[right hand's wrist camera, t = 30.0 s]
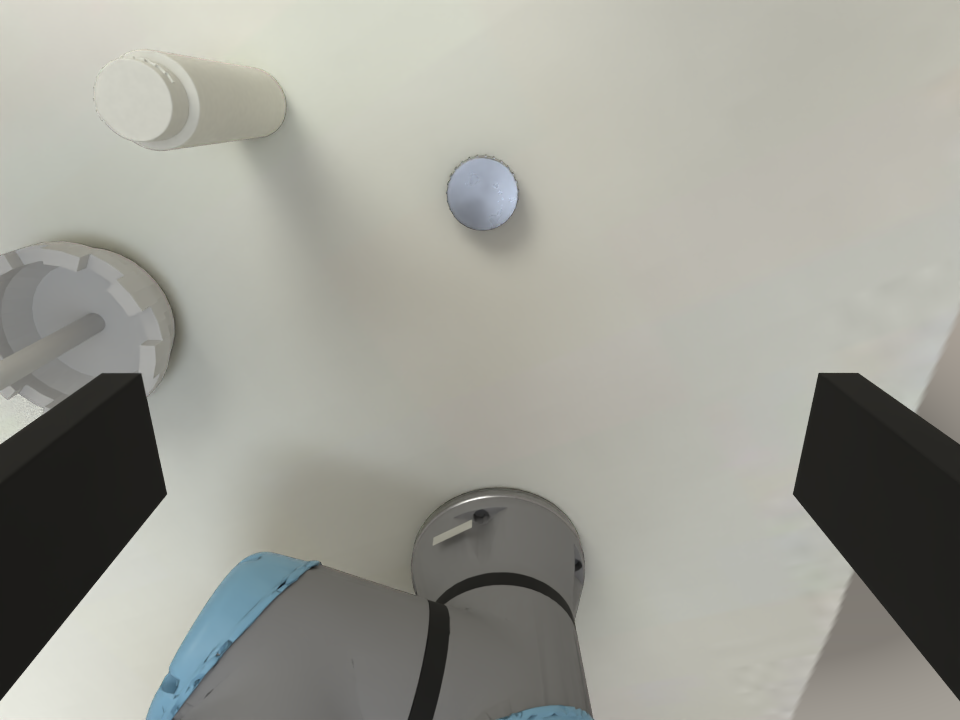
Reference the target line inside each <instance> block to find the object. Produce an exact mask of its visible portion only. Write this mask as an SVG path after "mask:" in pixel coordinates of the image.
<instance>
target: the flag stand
mask: <svg viewBox="0 0 960 720" xmlns="http://www.w3.org/2000/svg"><path fill="white" fill-rule="evenodd" d="M174 336H175V326H174V318H173V314H172V310H171V307H170V304H169V302H168V300H167V298H166V296H165V294H164V292H163V291H162V289H161V288H160V286H159V285H158V284H157V282H156V281H155V280H154V279H153V278H152V277H151V276H150V275H149V274H148V273H147V272H146V271H145V270H144V269H143V268H141V267H140V266H139V265H137V264H136V263H135V262H133V261H131V260H129V259H127V258H126V257H124V256H122V255H120V254H117V253H114V252H111V251H108V250H105V249H99V248H92V247H88V246H85V245H82V244H77V243H70V242H63V241H58V242H42V243H39V244H35V245H31V246H28V247H24V248H21V249H18V250H15V251H11V252H8V253H5V254H2V255H0V394H1V395H2V396H3V397H5V398H6V399H7V400H8V399H10V398H12V397H13V396H15V395H16V394H20V395H21V396H23V397H25V398H26V399H28V400H29V401H31V402H32V403H34V404H36V405H38V406H40V407H42V408H44V410H43V414H44V413H46V412H47V411H49V410H50V409H52V408H53V407H54V406H56V405H57V404H59V403H60V402H61V401H63V400H64V399H66V398H67V397H69V396H70V395H71V394H73V393H74V392H76V391H77V390H78V389H80V388H81V387H83V386H84V385H86V384H87V383H88V382H90V381H91V380H93V379H94V378H96V377H97V376H98V375H100V374H101V373H141V374H142V378H143V383H144V388H145V393H146V397H147V396H149V395H150V394H151V393H152V392H153V391H154V390H155V388H156V387H157V386H158V384H159V383H160V382H161V381H162V379H163V376H164V374H165V372H166V370H167V367H168V363H169V358H170V352H171V349H172V347H173V341H174Z"/></svg>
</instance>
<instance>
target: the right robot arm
mask: <svg viewBox="0 0 960 720" xmlns="http://www.w3.org/2000/svg"><path fill="white" fill-rule="evenodd" d="M166 495H167V492H166V487H165V482H164V477H163V473H162V468H161V463H160V459H159V454H158V449H157V444H156V440H155V435H154V430H153V426H152V421H151V416H150V411H149V407H148V402H147V397H146V393H145V388H144V383H143V378H142V374H141V373H101V374H100V375H98V376H97V377H96V378H94V379H93V380H91V381H90V382H88V383H87V384H86V385H84V386H83V387H81V388H80V389H78V390H77V391H76V392H74V393H73V394H71V395H70V396H69V397H67V398H66V399H64V400H63V401H61V402H60V403H59V404H57V405H56V406H54V407H53V408H52V409H50V410H49V411H47V412H46V413H44V414H43V415H42V416H40V417H39V418H37V419H36V420H34V421H33V422H32V423H30V424H29V425H27V426H26V427H25V428H23V429H22V430H20V431H19V432H17V433H16V434H15V435H13V436H12V437H10V438H9V439H8V440H6V441H5V442H3V443H2V444H0V701H1V699H2V698H3V697H4V696H5V694H6V693H7V692H8V691H9V689H10V688H11V687H12V686H13V684H14V683H15V682H16V681H17V680H18V678H19V677H20V676H21V675H22V673H23V672H24V671H25V670H26V668H27V667H28V666H29V665H30V663H31V662H32V661H33V660H34V658H35V657H36V656H37V655H38V654H39V652H40V651H41V650H42V649H43V647H44V646H45V645H46V644H47V642H48V641H49V640H50V639H51V637H52V636H53V635H54V634H55V632H56V631H57V630H58V629H59V627H60V626H61V625H62V624H63V623H64V621H65V620H66V619H67V618H68V616H69V615H70V614H71V613H72V611H73V610H74V609H75V608H76V606H77V605H78V604H79V603H80V601H81V600H82V599H83V598H84V597H85V595H86V594H87V593H88V592H89V590H90V589H91V588H92V587H93V585H94V584H95V583H96V582H97V580H98V579H99V578H100V577H101V575H102V574H103V573H104V572H105V571H106V569H107V568H108V567H109V566H110V564H111V563H112V562H113V561H114V559H115V558H116V557H117V556H118V554H119V553H120V552H121V551H122V549H123V548H124V547H125V546H126V545H127V543H128V542H129V541H130V540H131V538H132V537H133V536H134V535H135V533H136V532H137V531H138V530H139V528H140V527H141V526H142V525H143V523H144V522H145V521H146V520H147V518H148V517H149V516H150V515H151V514H152V512H153V511H154V510H155V509H156V507H157V506H158V505H159V504H160V502H161V501H162V500H163V499H164V497H165V496H166ZM793 495H794V496H795V497H796V499H797V500H798V501H799V502H800V504H801V505H802V506H803V507H804V509H805V510H806V511H807V512H808V514H809V515H810V516H811V517H812V518H813V520H814V521H815V522H816V523H817V525H818V526H819V527H820V528H821V530H822V531H823V532H824V533H825V535H826V536H827V537H828V538H829V540H830V541H831V542H832V543H833V545H834V546H835V547H836V548H837V549H838V551H839V552H840V553H841V554H842V556H843V557H844V558H845V559H846V561H847V562H848V563H849V564H850V566H851V567H852V568H853V569H854V571H855V572H856V573H857V574H858V575H859V577H860V578H861V579H862V580H863V582H864V583H865V584H866V585H867V587H868V588H869V589H870V590H871V591H872V593H873V594H874V595H875V596H876V598H877V599H878V600H879V601H880V603H881V604H882V605H883V606H884V608H885V609H886V610H887V611H888V613H889V614H890V615H891V616H892V618H893V619H894V620H895V621H896V623H897V624H898V625H899V626H900V627H901V629H902V630H903V631H904V632H905V634H906V635H907V636H908V637H909V639H910V640H911V641H912V642H913V643H914V645H915V646H916V647H917V649H918V650H919V651H920V652H921V654H922V655H923V656H924V657H925V658H926V660H927V661H928V662H929V663H930V665H931V666H932V667H933V668H934V669H935V671H936V672H937V673H938V675H939V676H940V677H941V678H942V680H943V681H944V682H945V683H946V684H947V686H948V687H949V688H950V689H951V691H952V692H953V693H954V694H955V696H956V697H957V698H958V699H959V701H960V444H958V443H957V442H955V441H954V440H952V439H951V438H950V437H948V436H947V435H945V434H944V433H943V432H941V431H940V430H938V429H937V428H935V427H934V426H933V425H931V424H930V423H928V422H927V421H925V420H924V419H923V418H921V417H920V416H918V415H917V414H916V413H914V412H913V411H911V410H910V409H908V408H907V407H906V406H904V405H903V404H901V403H900V402H899V401H897V400H896V399H894V398H893V397H891V396H890V395H889V394H887V393H886V392H884V391H883V390H882V389H880V388H879V387H877V386H876V385H874V384H873V383H872V382H870V381H869V380H867V379H866V378H864V377H863V376H862V375H860V374H859V373H819V374H818V378H817V383H816V388H815V393H814V397H813V402H812V407H811V411H810V416H809V421H808V426H807V430H806V435H805V440H804V444H803V449H802V454H801V459H800V463H799V468H798V473H797V477H796V482H795V487H794V492H793ZM411 572H412V583H413V587H414V591H415V594H416V595H413V594H409V593H406V592H403V591H400V590H397V589H393V588H390V587H387V586H384V585H381V584H378V583H375V582H372V581H369V580H366V579H363V578H360V577H357V576H354V575H351V574H348V573H345V572H342V571H338V570H335V569H332V568H329V567H326V566H323V565H322V564H321V562H319V561H309V562H307V561H303V560H299V559H295V558H291V557H288V556H284V555H280V554H276V553H272V552H259V553H256V554H253V555H251V556H249V557H247V558H245V559H244V560H242V561H241V562H240V563H239V564H238V565H236V566H235V567H234V568H233V569H232V570H231V572H230V573H229V574H228V575H227V576H226V577H225V579H224V580H223V581H222V582H221V584H220V585H219V586H218V588H217V589H216V590H215V592H214V593H213V595H212V596H211V598H210V599H209V600H208V602H207V603H206V605H205V606H204V608H203V610H202V611H201V613H200V614H199V616H198V617H197V619H196V621H195V622H194V624H193V625H192V627H191V629H190V630H189V632H188V634H187V635H186V637H185V639H184V641H183V642H182V644H181V646H180V648H179V649H178V651H177V653H176V655H175V657H174V659H173V661H172V663H171V664H170V666H169V673H168V674H167V675H166V676H165V678H164V680H163V682H162V684H161V686H160V688H159V689H158V691H157V693H156V694H155V696H154V699H153V701H152V703H151V706H150V708H149V711H148V714H147V717H146V720H594V719H593V715H592V710H591V705H590V700H589V694H588V689H587V684H586V679H585V674H584V668H583V663H582V658H581V653H580V648H579V642H578V637H577V632H576V627H575V622H574V621H575V617H576V613H577V609H578V605H579V601H580V597H581V592H582V588H583V584H584V576H585V561H584V554H583V550H582V545H581V542H580V538H579V536H578V533H577V531H576V529H575V527H574V525H573V524H572V522H571V521H570V520H569V518H568V517H567V516H566V515H565V514H564V513H563V512H562V511H561V510H560V509H559V508H557V507H556V506H555V505H553V504H552V503H550V502H549V501H547V500H545V499H543V498H541V497H539V496H537V495H534V494H532V493H529V492H525V491H522V490H516V489H509V488H487V489H480V490H476V491H471V492H468V493H465V494H462V495H460V496H457V497H455V498H453V499H451V500H450V501H448V502H446V503H445V504H443V505H442V506H440V507H439V508H438V509H437V510H435V511H434V512H433V513H432V514H431V515H430V516H429V517H428V519H427V520H426V521H425V522H424V524H423V526H422V527H421V529H420V531H419V533H418V535H417V537H416V540H415V544H414V548H413V554H412V563H411Z"/></svg>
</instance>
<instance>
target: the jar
mask: <svg viewBox="0 0 960 720" xmlns="http://www.w3.org/2000/svg"><path fill="white" fill-rule="evenodd" d="M93 100H94V103H95V106H96V112H97V113H98V115H99V117H100V118H101V120H102V121H104V122H105V123H106V124H107V126H108V127H109V128H110V129H111V130H113V131H114V132H115V133H116V134H118V135H119V136H121V137H123V138H125V139H128V140H131V141H133V142H134V143H136V144H138V145H140V146H142V147H145V148H147V149H151V150H157V151H167V150H174V149H181V148H188V147H195V146H202V145H210V144H217V143H224V142H231V141H238V140H245V139H252V138H260V137H265V136H268V135H270V134H272V133H274V132H275V131H276V130H277V129H278V128H279V127H280V126H281V124H282V122H283V120H284V117H285V114H286V100H285V96H284V93H283V91H282V89H281V87H280V85H279V84H278V82H277V81H276V80H275V79H274V78H273V77H272V76H271V75H270V74H268V73H267V72H265V71H263V70H261V69H258V68H253V67H247V66H242V65H236V64H230V63H224V62H218V61H213V60H207V59H201V58H195V57H189V56H184V55H178V54H172V53H166V52H160V51H155V50H148V49H140V50H134V51H131V52H128V53H126V54H124V55H123V56H121V57H120V58H118V59H116V60H113V61H110V62H109V63H108V64H107V65H106V66H105V67H103V68H102V70H101V71H100V73H99V74H98V76H97V78H96V81H95V86H94V98H93Z"/></svg>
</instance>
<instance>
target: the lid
mask: <svg viewBox="0 0 960 720" xmlns="http://www.w3.org/2000/svg"><path fill="white" fill-rule="evenodd" d="M450 177H451V178H450V181H448V183H447V185H448V188H447V191H446V194H447V202H448V204H449V207H450V210H451V212H452V213H453V215H454V217H455V218H456V219H457V220H458V221H459V222H460V223H462V224H463V225H465V226H466V227H469V228H471V229H474V230H490V229H494V228H496V227H499V226H500V225H502V224H503V223H505V222H506V221H507V220H508V219H509V218H510V216H512V213H513V212H514V210H515V208H516V204H517V200H518V192H519V190H518V188H517V180H515V178H514V174H513V172H511V171H510V169H509V166H508V165H507V166H506V165H505V164H504V163H503V162H502V160H498V159H496V158H495V157H494V156H493V157H490V156H487V155H485V156H478V155H477V156H475V157H471V158H470V157H469V158H468V159H467V160H465V161H464V162H463V161H462V162H461V164H460V165H459V166H458V167H455V171H454V172H453V174H452V173H451V175H450Z"/></svg>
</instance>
